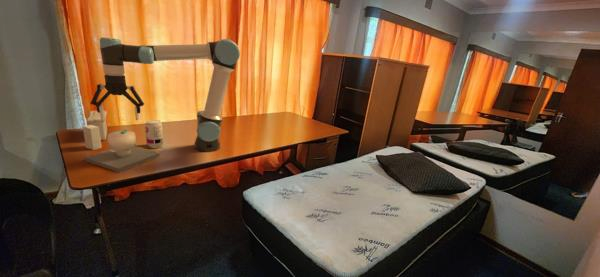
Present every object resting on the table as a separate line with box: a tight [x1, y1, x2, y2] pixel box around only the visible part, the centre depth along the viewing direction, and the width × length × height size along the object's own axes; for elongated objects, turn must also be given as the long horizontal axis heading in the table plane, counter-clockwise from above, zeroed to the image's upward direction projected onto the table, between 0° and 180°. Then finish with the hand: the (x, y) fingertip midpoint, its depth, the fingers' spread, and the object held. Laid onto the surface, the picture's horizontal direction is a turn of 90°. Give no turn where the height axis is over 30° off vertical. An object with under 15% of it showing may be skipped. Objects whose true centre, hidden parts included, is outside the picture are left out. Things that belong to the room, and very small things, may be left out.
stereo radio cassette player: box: [86, 110, 108, 141], centre depth 140 cm, size 21×8×20 cm, turn 35°
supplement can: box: [144, 119, 164, 149], centre depth 137 cm, size 8×8×15 cm
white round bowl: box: [106, 129, 137, 150], centre depth 118 cm, size 11×11×7 cm
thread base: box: [83, 145, 161, 173], centre depth 120 cm, size 22×22×7 cm
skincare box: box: [82, 124, 102, 151], centre depth 126 cm, size 6×4×12 cm
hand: (120, 119), depth 115 cm, fingers open, 13 cm apart
